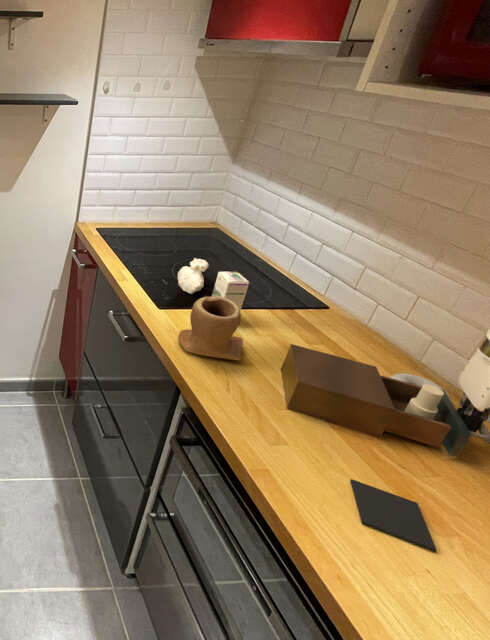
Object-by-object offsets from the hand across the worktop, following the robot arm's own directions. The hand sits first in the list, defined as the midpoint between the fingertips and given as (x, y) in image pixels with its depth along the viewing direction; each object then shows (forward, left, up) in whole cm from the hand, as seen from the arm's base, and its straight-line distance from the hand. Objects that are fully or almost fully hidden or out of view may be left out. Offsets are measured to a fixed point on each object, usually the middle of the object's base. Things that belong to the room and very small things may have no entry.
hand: (462, 427), depth 88 cm
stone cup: (+44, -6, -4) cm, 44 cm away
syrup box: (+42, -23, -4) cm, 48 cm away
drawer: (+7, 0, -2) cm, 7 cm away
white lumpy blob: (+51, -39, -4) cm, 64 cm away
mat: (+16, +27, -3) cm, 31 cm away
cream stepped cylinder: (+7, 0, -1) cm, 7 cm away
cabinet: (+21, 0, -3) cm, 21 cm away
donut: (+3, -12, -4) cm, 13 cm away
